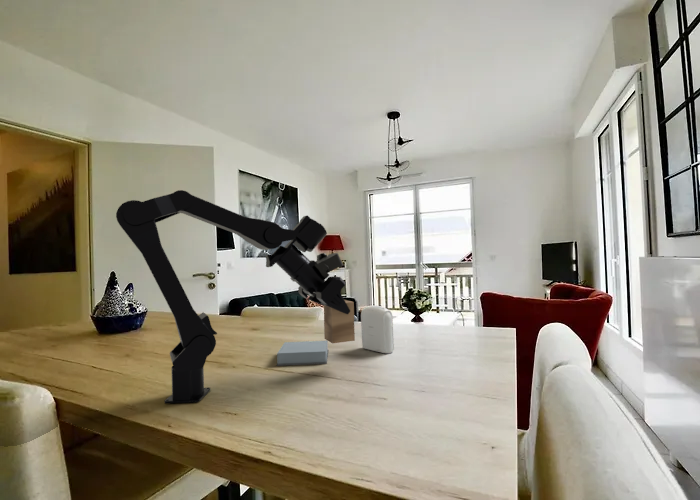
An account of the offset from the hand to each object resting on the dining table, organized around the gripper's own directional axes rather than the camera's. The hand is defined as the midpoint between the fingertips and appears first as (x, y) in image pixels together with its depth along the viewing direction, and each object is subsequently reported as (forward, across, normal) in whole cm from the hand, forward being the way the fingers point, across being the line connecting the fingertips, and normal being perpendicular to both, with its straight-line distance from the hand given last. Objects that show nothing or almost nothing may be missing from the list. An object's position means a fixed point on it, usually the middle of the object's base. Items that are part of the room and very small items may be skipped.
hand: (344, 311), depth 87 cm
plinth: (+5, +13, +14) cm, 20 cm away
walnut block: (+4, 0, +6) cm, 7 cm away
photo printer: (+20, +10, 0) cm, 22 cm away
